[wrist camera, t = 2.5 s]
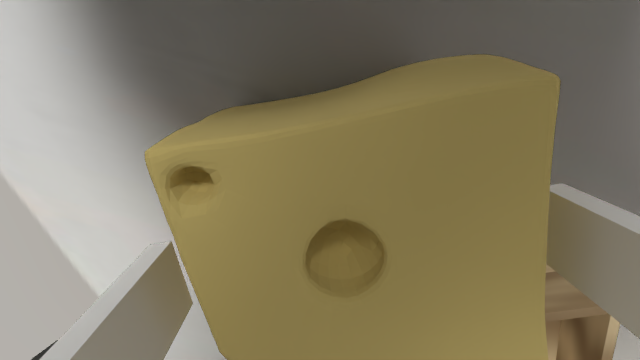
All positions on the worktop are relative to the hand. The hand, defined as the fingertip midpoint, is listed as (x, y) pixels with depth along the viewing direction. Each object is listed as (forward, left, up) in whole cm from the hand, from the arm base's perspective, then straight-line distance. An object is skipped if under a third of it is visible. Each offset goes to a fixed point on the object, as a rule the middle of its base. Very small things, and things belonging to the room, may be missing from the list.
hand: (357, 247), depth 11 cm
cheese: (0, 0, -7) cm, 7 cm away
